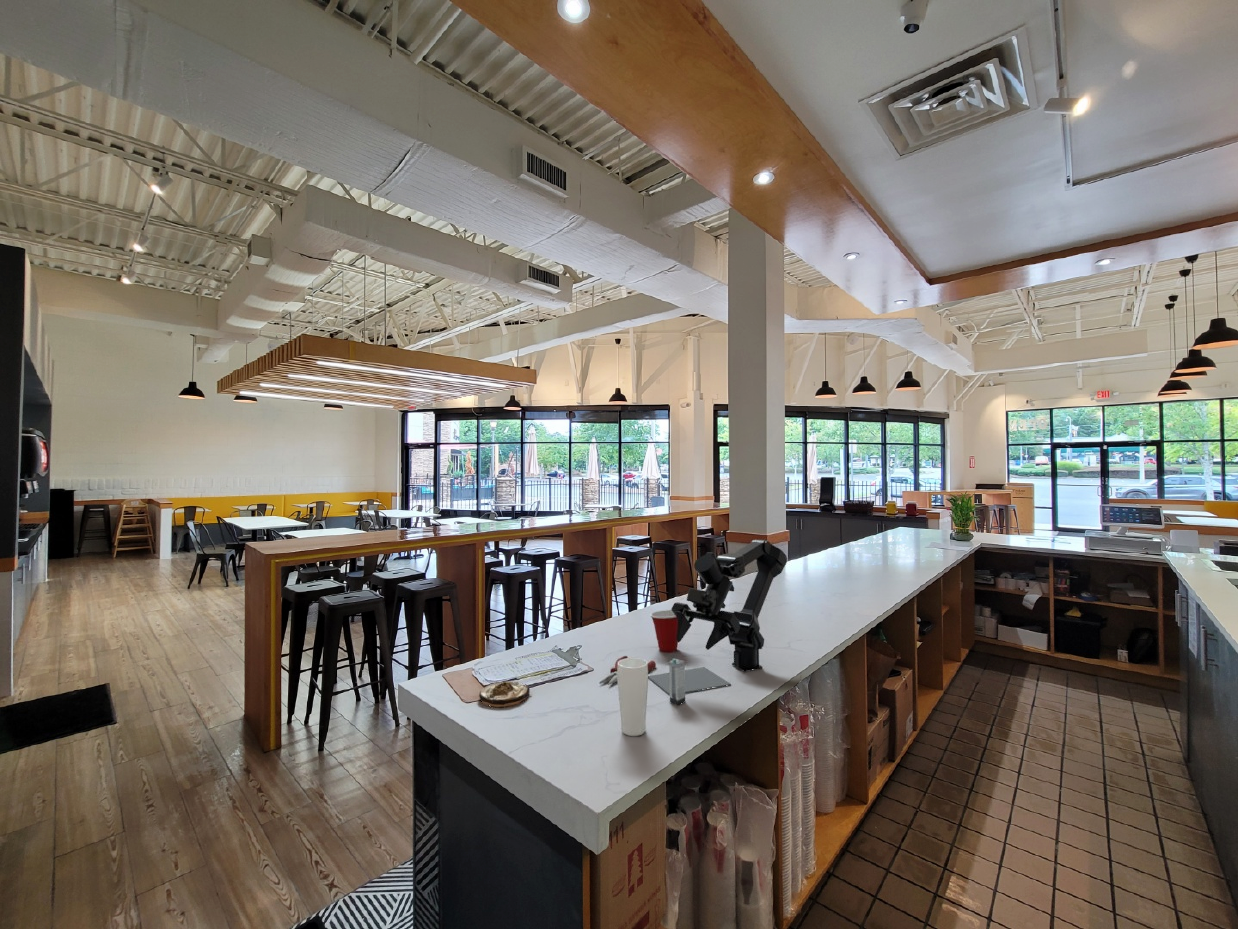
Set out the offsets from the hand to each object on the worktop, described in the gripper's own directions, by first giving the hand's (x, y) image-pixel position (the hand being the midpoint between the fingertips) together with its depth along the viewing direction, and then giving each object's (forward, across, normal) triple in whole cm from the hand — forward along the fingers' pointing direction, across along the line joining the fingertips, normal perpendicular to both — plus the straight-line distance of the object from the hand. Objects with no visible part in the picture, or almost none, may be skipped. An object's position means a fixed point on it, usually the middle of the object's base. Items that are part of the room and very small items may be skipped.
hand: (691, 645), depth 138 cm
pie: (+33, -35, -14) cm, 50 cm away
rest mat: (+4, -6, +14) cm, 15 cm away
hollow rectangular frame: (+13, 0, +4) cm, 14 cm away
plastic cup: (-8, -28, +26) cm, 39 cm away
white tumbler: (+27, +2, -8) cm, 28 cm away
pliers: (+10, -25, +9) cm, 28 cm away
